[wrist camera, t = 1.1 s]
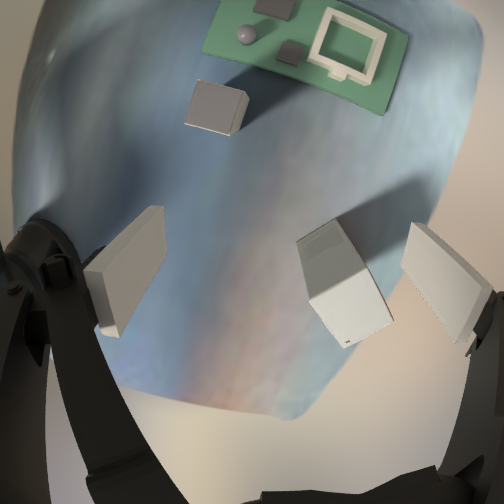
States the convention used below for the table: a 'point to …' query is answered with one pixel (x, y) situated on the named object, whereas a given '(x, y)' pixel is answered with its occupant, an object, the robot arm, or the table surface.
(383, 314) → the small box
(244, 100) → the plug
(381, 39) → the board
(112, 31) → the table surface
